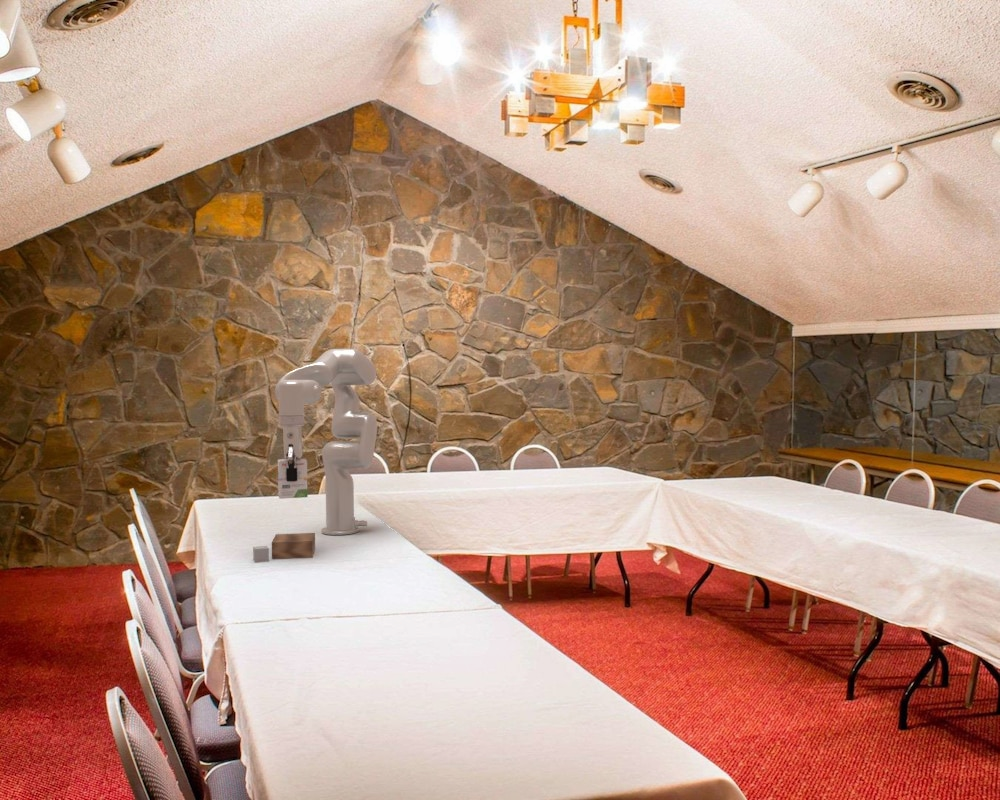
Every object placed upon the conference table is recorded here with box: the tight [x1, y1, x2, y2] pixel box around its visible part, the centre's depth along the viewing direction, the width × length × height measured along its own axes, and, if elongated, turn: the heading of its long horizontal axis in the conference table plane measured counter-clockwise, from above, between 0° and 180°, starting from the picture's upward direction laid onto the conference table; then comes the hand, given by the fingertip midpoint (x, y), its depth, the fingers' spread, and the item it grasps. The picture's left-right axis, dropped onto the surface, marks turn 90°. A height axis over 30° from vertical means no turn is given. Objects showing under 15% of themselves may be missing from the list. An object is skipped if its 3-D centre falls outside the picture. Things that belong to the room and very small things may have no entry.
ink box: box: [277, 458, 308, 499], centre depth 282 cm, size 8×5×12 cm, turn 108°
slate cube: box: [252, 545, 270, 563], centre depth 274 cm, size 4×4×4 cm
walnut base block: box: [271, 532, 316, 560], centre depth 283 cm, size 12×13×5 cm
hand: (292, 479), depth 282 cm, fingers closed on ink box, 5 cm apart
